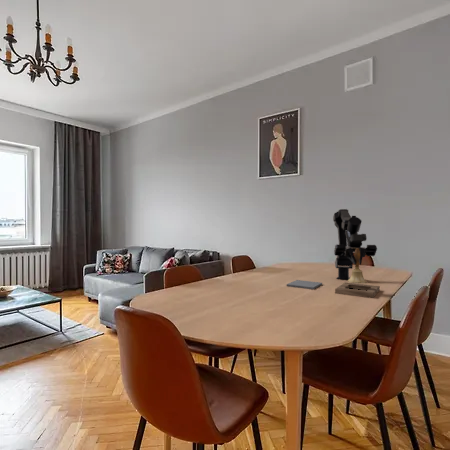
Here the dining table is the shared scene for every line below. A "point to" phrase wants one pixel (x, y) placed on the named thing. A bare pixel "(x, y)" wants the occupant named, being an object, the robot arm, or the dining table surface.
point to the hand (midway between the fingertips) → (358, 264)
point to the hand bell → (357, 270)
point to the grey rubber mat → (304, 284)
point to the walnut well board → (345, 290)
